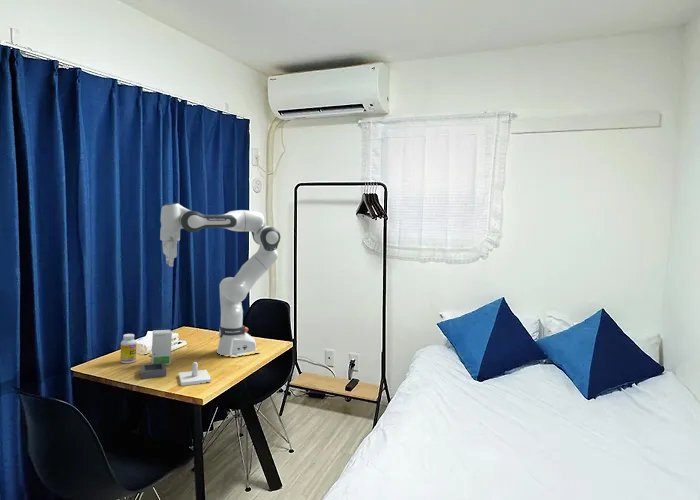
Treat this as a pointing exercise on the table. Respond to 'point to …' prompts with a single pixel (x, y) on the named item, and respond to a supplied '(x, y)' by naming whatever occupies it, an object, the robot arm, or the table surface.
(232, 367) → the table surface
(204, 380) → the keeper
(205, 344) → the table surface
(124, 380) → the table surface
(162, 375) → the gray square tray
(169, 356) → the skincare box
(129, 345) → the supplement bottle
